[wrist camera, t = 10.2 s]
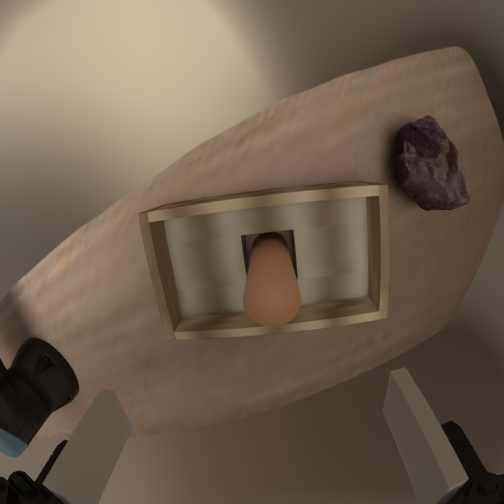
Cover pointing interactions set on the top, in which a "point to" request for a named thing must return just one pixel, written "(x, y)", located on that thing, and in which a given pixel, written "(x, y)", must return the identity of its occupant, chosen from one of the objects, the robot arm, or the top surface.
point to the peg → (271, 282)
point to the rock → (430, 166)
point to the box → (236, 261)
